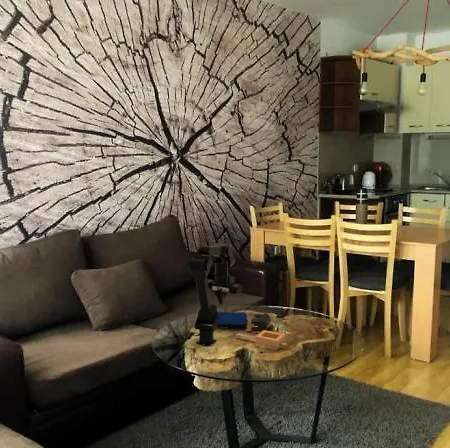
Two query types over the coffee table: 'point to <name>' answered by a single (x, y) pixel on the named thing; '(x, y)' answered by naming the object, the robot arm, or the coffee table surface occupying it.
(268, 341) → the collar
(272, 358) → the coffee table surface
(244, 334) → the rail
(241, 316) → the handheld game console
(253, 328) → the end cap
